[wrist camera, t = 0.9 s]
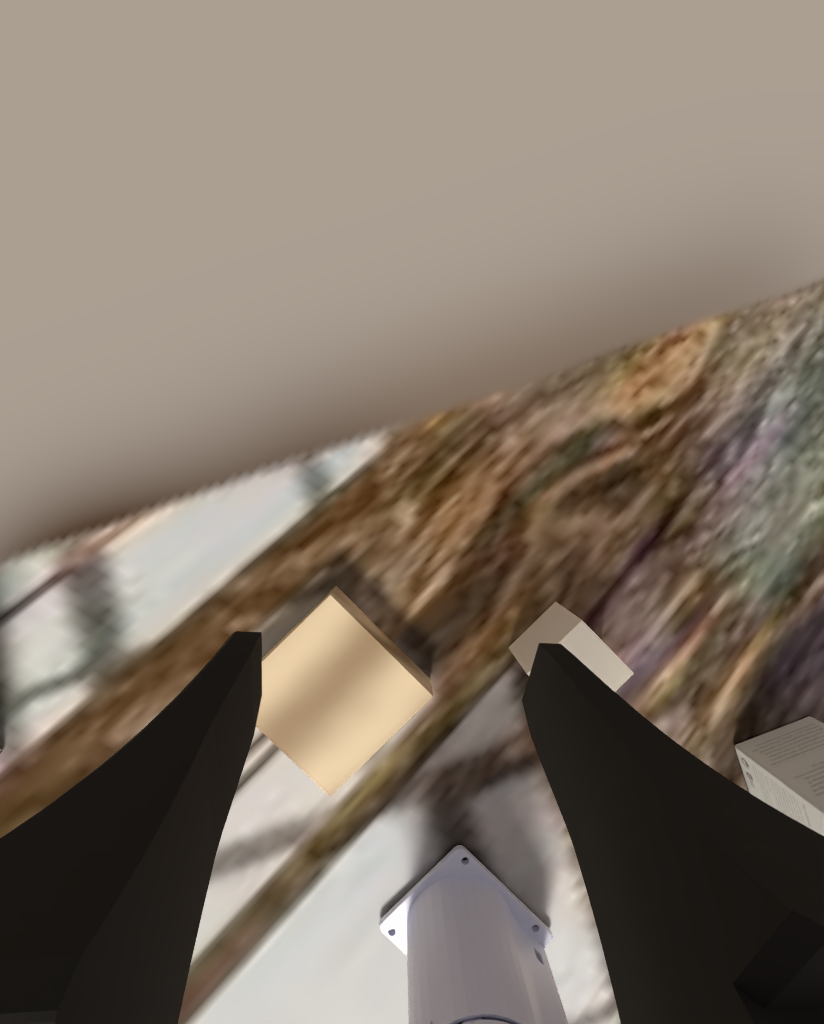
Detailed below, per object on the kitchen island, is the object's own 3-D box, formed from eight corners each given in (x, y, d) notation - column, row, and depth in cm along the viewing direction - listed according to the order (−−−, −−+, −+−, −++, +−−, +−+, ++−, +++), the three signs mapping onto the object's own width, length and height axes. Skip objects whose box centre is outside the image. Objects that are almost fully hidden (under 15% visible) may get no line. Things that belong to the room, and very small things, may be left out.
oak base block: (429, 676, 31) (433, 696, 28) (336, 767, 31) (330, 796, 28) (336, 584, 31) (330, 594, 28) (242, 677, 31) (225, 697, 28)
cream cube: (599, 646, 31) (633, 673, 27) (552, 692, 31) (579, 726, 27) (555, 601, 31) (582, 619, 26) (507, 647, 31) (527, 673, 27)
